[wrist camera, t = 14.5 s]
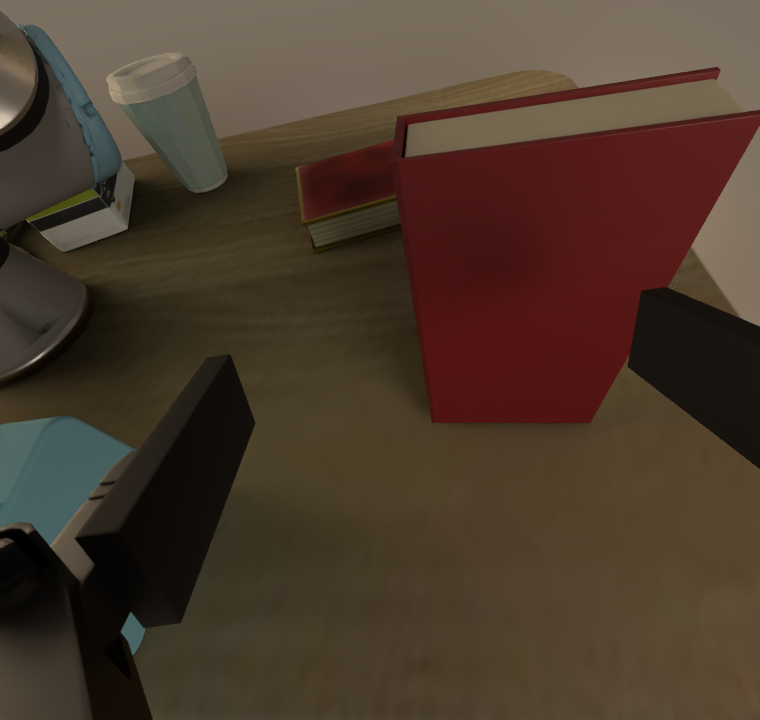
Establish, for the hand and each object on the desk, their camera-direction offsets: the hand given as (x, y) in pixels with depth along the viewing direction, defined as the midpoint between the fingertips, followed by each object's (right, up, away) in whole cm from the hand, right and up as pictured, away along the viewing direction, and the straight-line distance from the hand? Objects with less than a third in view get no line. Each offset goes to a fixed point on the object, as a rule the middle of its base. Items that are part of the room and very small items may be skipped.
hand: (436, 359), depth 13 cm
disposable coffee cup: (-27, +26, +45) cm, 59 cm away
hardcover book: (0, +19, +34) cm, 39 cm away
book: (+6, +4, +10) cm, 12 cm away
